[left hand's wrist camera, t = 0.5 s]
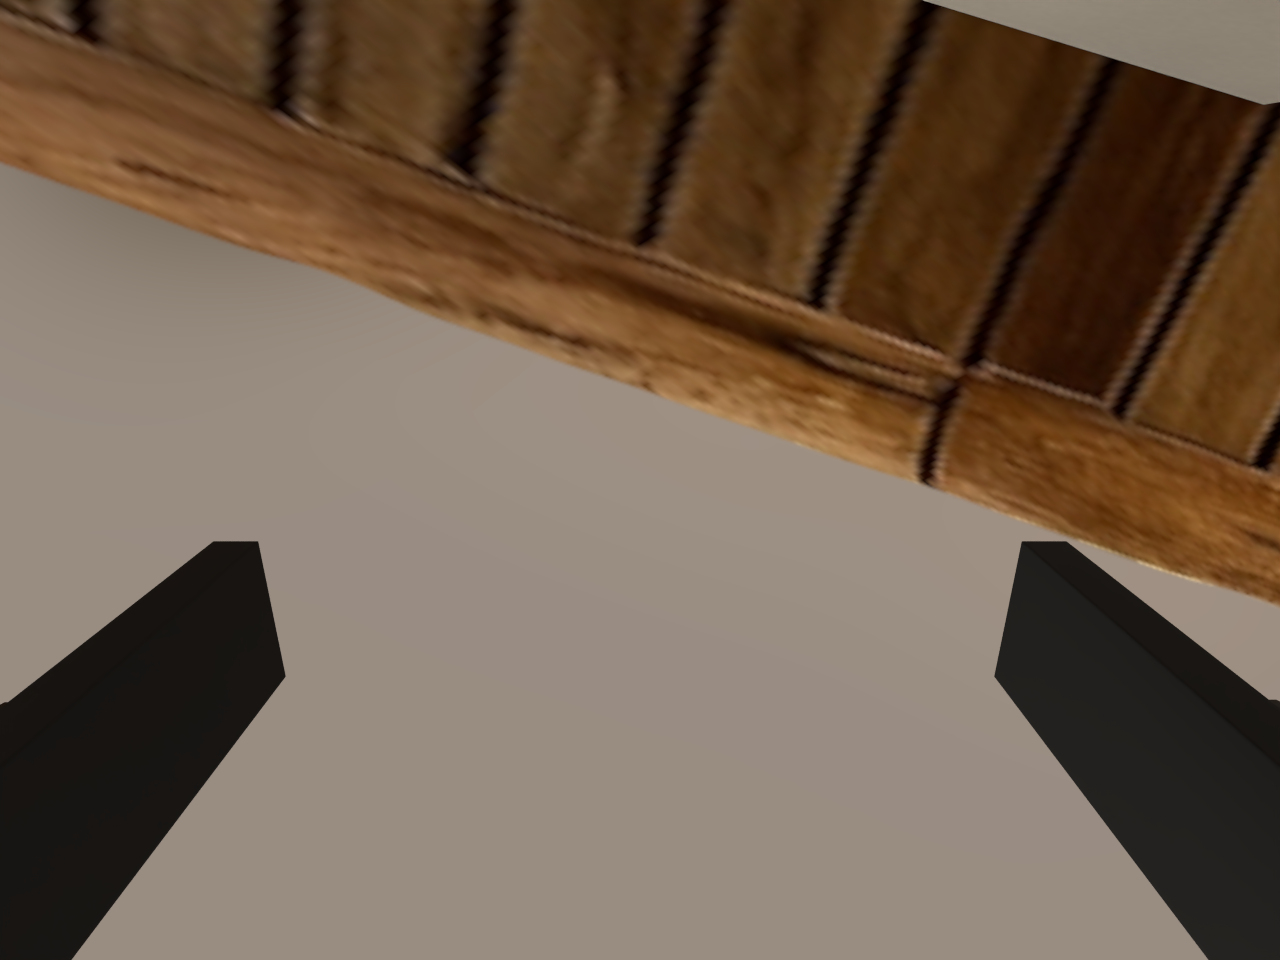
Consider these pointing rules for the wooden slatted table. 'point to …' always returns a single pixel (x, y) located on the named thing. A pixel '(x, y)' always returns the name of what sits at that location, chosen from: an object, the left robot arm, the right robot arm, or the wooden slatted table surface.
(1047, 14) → the bar
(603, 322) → the wooden slatted table surface
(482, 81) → the wooden slatted table surface
